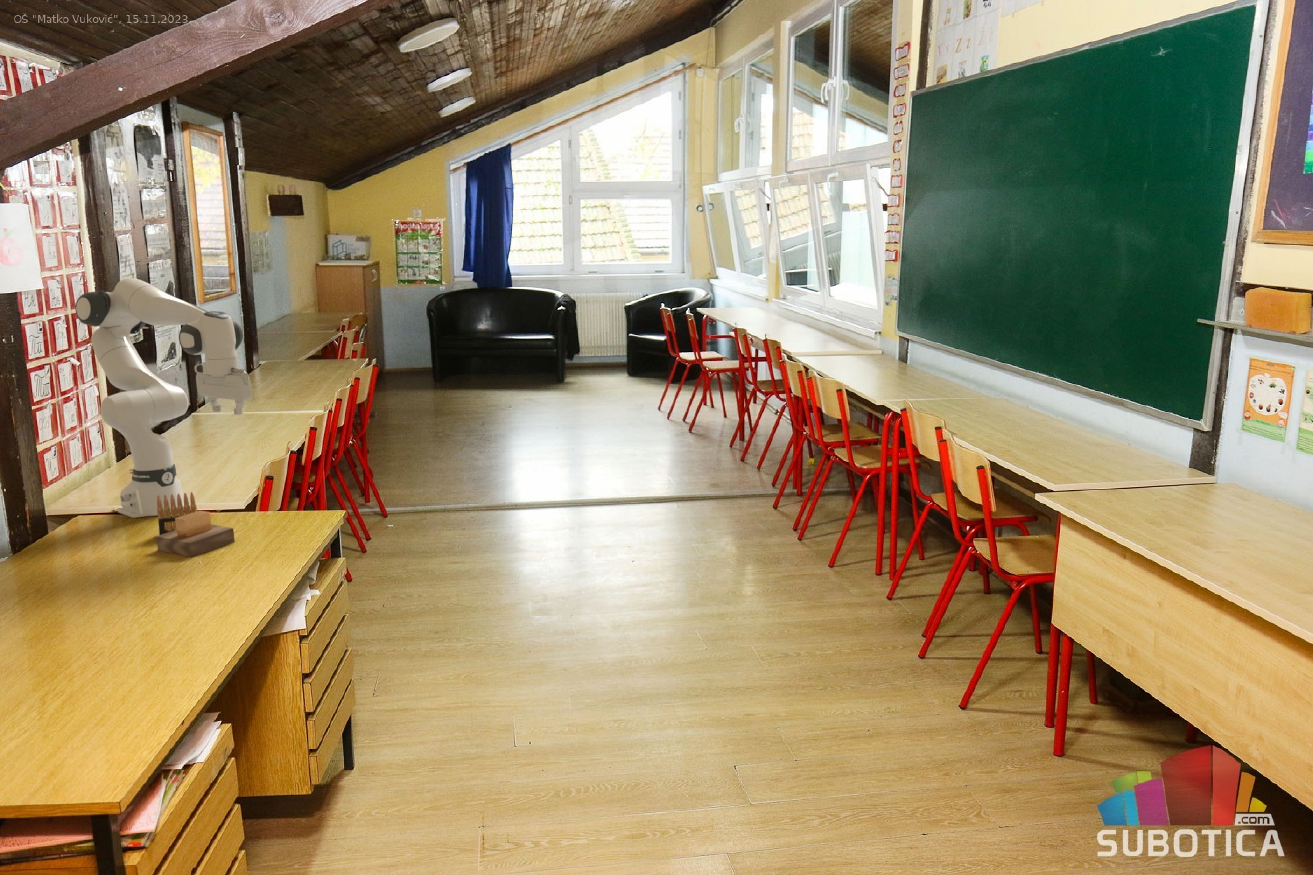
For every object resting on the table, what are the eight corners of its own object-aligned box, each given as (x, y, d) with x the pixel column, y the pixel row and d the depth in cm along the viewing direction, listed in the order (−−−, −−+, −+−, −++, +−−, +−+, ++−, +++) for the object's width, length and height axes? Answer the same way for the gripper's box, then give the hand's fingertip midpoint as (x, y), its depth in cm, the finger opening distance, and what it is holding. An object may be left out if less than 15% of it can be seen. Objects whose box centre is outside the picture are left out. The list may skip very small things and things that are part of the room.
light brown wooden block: (177, 535, 267) (174, 518, 266) (202, 527, 274) (200, 510, 273) (186, 537, 265) (184, 520, 264) (211, 529, 272) (209, 512, 271)
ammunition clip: (200, 529, 285) (195, 490, 283) (199, 531, 283) (194, 492, 281) (160, 534, 282) (155, 494, 279) (159, 536, 280) (154, 496, 277)
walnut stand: (157, 549, 268) (155, 536, 267) (201, 535, 280) (199, 522, 279) (191, 557, 261) (189, 543, 261) (234, 541, 274) (233, 528, 273)
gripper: (255, 367, 282) (260, 414, 285) (208, 363, 291) (214, 408, 295) (237, 371, 277) (242, 418, 280) (190, 366, 286) (195, 411, 289)
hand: (227, 413), depth 287 cm, fingers open, 8 cm apart
